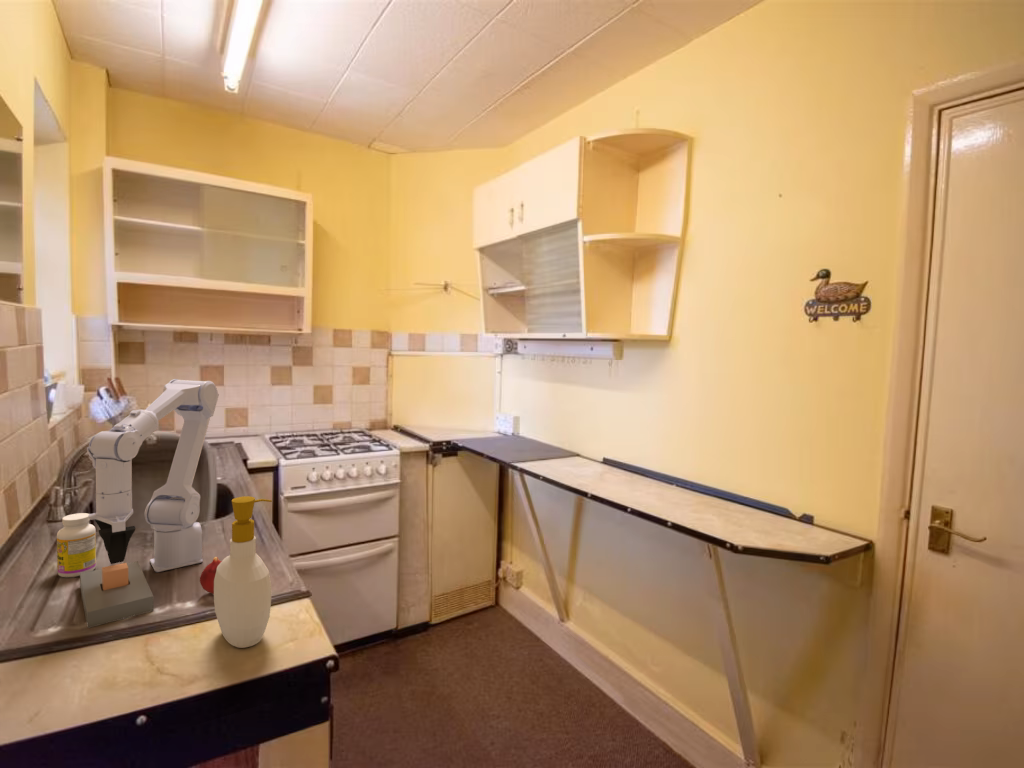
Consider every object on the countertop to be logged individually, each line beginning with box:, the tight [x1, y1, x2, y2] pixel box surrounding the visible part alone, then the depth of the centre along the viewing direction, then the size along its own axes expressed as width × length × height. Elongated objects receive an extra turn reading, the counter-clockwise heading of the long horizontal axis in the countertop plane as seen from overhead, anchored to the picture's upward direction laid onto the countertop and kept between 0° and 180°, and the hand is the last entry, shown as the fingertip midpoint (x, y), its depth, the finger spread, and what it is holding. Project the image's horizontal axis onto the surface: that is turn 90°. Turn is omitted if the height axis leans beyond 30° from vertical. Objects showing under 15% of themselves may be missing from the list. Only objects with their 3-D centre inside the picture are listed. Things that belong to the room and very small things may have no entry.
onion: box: [199, 556, 223, 595], centre depth 108 cm, size 6×6×8 cm
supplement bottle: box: [56, 512, 97, 578], centre depth 114 cm, size 7×7×13 cm
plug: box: [101, 562, 128, 591], centre depth 104 cm, size 4×3×6 cm
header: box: [79, 560, 154, 629], centre depth 104 cm, size 10×20×3 cm, turn 43°
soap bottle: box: [213, 495, 273, 649], centre depth 93 cm, size 14×9×26 cm, turn 48°
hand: (114, 555), depth 104 cm, fingers open, 7 cm apart
